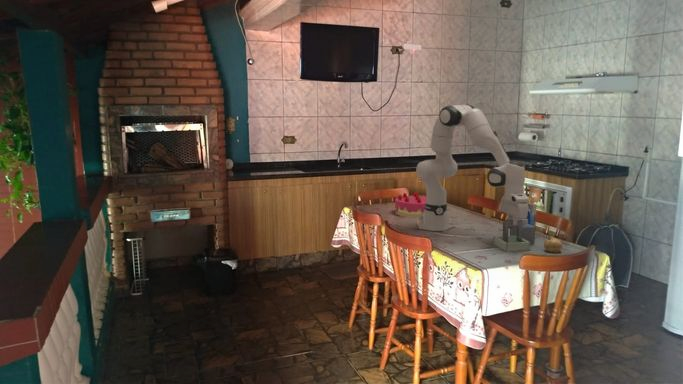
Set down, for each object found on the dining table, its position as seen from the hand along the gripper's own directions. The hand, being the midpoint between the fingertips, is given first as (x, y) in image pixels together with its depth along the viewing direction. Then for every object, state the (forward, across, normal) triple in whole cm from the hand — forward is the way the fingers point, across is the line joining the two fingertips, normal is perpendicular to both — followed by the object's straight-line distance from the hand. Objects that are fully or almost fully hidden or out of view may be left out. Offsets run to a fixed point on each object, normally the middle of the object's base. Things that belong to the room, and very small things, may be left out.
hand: (512, 224), depth 245 cm
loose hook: (+9, 0, 0) cm, 9 cm away
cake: (+12, -82, -21) cm, 86 cm away
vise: (+12, -8, +10) cm, 18 cm away
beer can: (+12, -19, +18) cm, 29 cm away
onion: (+12, +10, +16) cm, 22 cm away
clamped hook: (+4, -6, +10) cm, 12 cm away
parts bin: (+12, 0, 0) cm, 12 cm away
